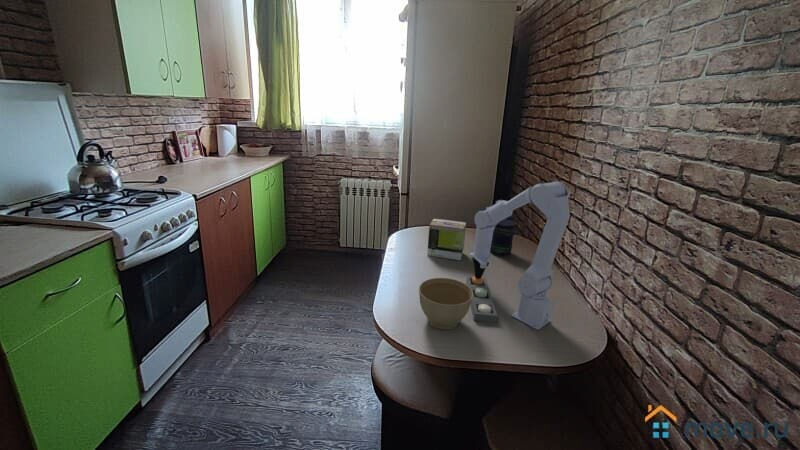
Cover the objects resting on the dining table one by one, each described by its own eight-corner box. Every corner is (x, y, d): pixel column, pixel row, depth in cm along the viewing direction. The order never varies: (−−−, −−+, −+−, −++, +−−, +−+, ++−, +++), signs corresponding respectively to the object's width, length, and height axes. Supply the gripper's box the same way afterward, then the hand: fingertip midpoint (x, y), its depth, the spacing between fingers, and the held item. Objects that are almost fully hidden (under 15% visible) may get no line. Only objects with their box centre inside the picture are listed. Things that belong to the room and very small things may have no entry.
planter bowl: (419, 303, 120) (421, 274, 117) (468, 310, 118) (472, 281, 115) (413, 332, 105) (416, 300, 102) (469, 340, 103) (474, 308, 100)
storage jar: (513, 257, 161) (518, 226, 156) (491, 256, 161) (496, 224, 156) (507, 248, 171) (512, 219, 166) (486, 247, 171) (491, 217, 166)
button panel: (496, 322, 113) (497, 315, 112) (473, 320, 113) (474, 313, 112) (484, 284, 136) (485, 278, 135) (466, 282, 136) (466, 276, 136)
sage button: (487, 299, 122) (488, 294, 121) (475, 298, 122) (476, 293, 121) (485, 293, 126) (486, 288, 125) (474, 292, 126) (474, 287, 125)
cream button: (491, 317, 114) (492, 311, 113) (478, 315, 114) (479, 310, 113) (489, 310, 118) (490, 304, 117) (476, 308, 118) (477, 303, 117)
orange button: (483, 286, 130) (484, 281, 130) (472, 285, 131) (473, 280, 130) (481, 281, 134) (482, 276, 133) (471, 280, 134) (471, 275, 134)
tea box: (463, 252, 163) (467, 221, 159) (460, 261, 154) (464, 229, 149) (430, 247, 167) (433, 217, 162) (426, 255, 158) (429, 224, 153)
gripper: (469, 234, 134) (464, 267, 139) (473, 250, 120) (469, 286, 125) (488, 236, 134) (483, 269, 138) (495, 252, 120) (489, 288, 125)
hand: (477, 277), depth 132 cm, fingers closed
